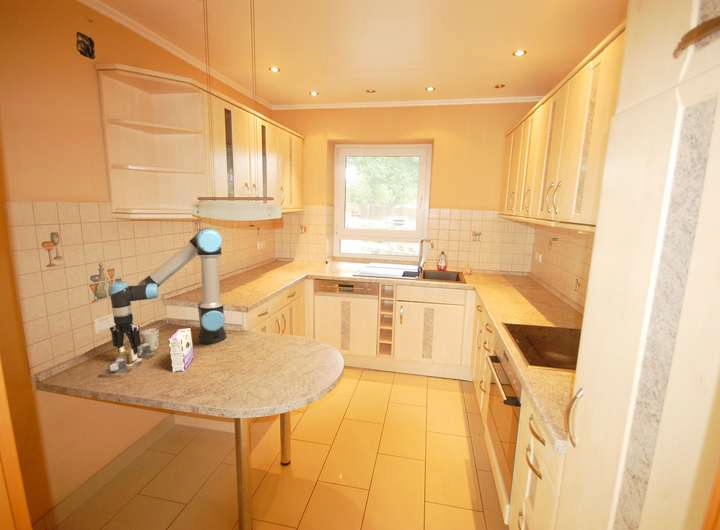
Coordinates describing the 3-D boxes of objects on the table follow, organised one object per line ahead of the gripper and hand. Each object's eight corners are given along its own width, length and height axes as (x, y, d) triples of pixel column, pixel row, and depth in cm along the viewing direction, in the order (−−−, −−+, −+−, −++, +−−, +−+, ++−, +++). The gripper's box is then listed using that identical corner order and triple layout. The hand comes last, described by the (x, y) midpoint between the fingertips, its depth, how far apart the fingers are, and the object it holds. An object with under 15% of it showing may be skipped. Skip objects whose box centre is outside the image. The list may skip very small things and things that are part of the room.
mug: (155, 351, 182) (152, 333, 180) (132, 351, 182) (129, 334, 180) (164, 345, 190) (161, 328, 188) (142, 345, 190) (139, 328, 189)
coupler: (130, 363, 164) (128, 353, 163) (120, 362, 164) (118, 353, 163) (138, 357, 170) (137, 348, 169) (129, 357, 170) (127, 347, 169)
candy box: (182, 359, 171) (178, 328, 168) (194, 358, 172) (190, 327, 169) (171, 372, 157) (167, 339, 154) (185, 371, 158) (181, 337, 155)
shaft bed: (138, 353, 180) (136, 342, 179) (158, 353, 180) (156, 342, 179) (98, 377, 155) (96, 364, 154) (121, 377, 154) (119, 364, 153)
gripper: (146, 311, 166) (151, 356, 170) (111, 312, 167) (117, 356, 171) (135, 316, 159) (141, 363, 162) (98, 316, 160) (105, 363, 163)
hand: (129, 359), depth 167 cm, fingers closed on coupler, 5 cm apart
